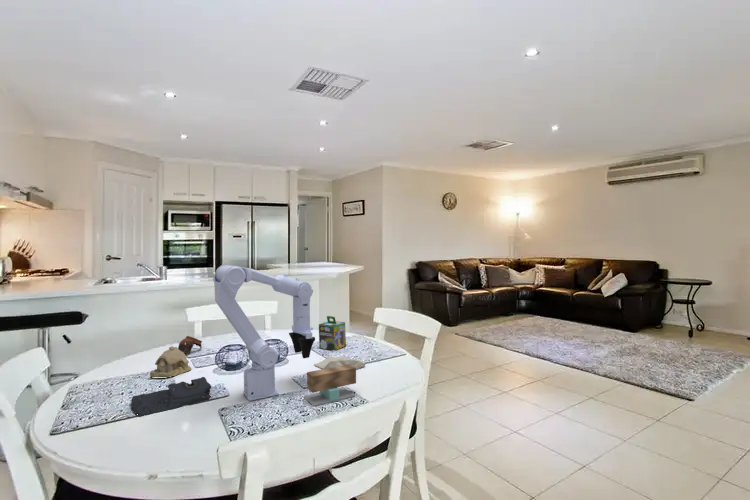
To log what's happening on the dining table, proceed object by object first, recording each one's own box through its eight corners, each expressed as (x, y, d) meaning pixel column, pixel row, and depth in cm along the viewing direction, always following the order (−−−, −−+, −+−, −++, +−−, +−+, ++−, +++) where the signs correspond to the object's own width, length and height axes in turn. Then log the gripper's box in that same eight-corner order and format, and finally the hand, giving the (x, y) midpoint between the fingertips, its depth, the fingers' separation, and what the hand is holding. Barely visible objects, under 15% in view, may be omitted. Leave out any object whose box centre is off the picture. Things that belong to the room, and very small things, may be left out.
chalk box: (346, 346, 181) (346, 315, 180) (334, 351, 173) (333, 318, 172) (330, 343, 186) (330, 313, 185) (318, 348, 178) (318, 316, 177)
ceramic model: (170, 366, 154) (170, 341, 154) (196, 367, 152) (196, 342, 152) (144, 379, 140) (143, 351, 140) (172, 380, 138) (171, 353, 138)
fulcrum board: (313, 406, 116) (313, 395, 116) (303, 397, 122) (303, 386, 122) (354, 396, 123) (354, 385, 123) (343, 388, 130) (343, 378, 130)
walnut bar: (312, 392, 117) (312, 376, 117) (307, 387, 121) (306, 372, 121) (356, 383, 125) (356, 367, 125) (349, 378, 129) (349, 364, 129)
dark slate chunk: (128, 402, 120) (128, 387, 120) (203, 385, 134) (202, 372, 134) (135, 420, 109) (134, 403, 108) (216, 399, 122) (216, 384, 122)
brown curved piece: (175, 352, 175) (184, 334, 178) (196, 359, 178) (204, 342, 181) (174, 352, 164) (184, 333, 167) (196, 359, 167) (205, 341, 170)
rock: (302, 369, 150) (320, 377, 138) (302, 357, 150) (320, 363, 138) (349, 363, 162) (369, 369, 150) (350, 352, 163) (369, 357, 150)
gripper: (320, 318, 130) (320, 358, 130) (304, 311, 142) (305, 348, 143) (300, 320, 126) (301, 361, 127) (286, 313, 139) (286, 351, 139)
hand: (301, 354), depth 135 cm, fingers open, 7 cm apart
